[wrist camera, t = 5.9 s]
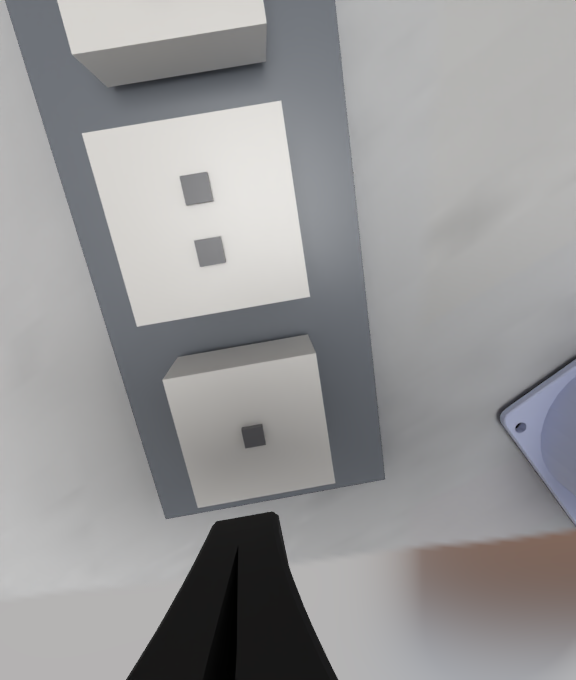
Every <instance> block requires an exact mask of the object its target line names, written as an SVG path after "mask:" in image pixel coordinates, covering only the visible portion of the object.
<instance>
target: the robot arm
mask: <svg viewBox="0 0 576 680" xmlns="http://www.w3.org/2000/svg"><path fill="white" fill-rule="evenodd" d="M500 421H501V423H502V425H503V426H504V427H505V429H506V430H507V432H508V433H509V434H510V436H511V437H512V438H513V440H514V441H515V443H516V444H517V445H518V447H519V448H520V450H521V451H522V452H523V454H524V455H525V456H526V458H527V459H528V461H529V462H530V463H531V465H532V466H533V468H534V469H535V470H536V472H537V473H538V474H539V476H540V477H541V479H542V480H543V481H544V483H545V484H546V486H547V487H548V488H549V490H550V491H551V492H552V494H553V495H554V497H555V498H556V499H557V501H558V502H559V504H560V505H561V506H562V508H563V509H564V510H565V512H566V513H567V515H568V516H569V517H570V519H571V520H572V522H573V523H574V524H575V526H576V359H575V360H574V361H572V362H571V363H569V364H568V365H567V366H565V367H564V368H562V369H561V370H560V371H558V372H557V373H555V374H554V375H553V376H551V377H550V378H548V379H547V380H545V381H544V382H543V383H541V384H540V385H538V386H537V387H536V388H534V389H533V390H531V391H530V392H529V393H527V394H526V395H524V396H523V397H521V398H520V399H519V400H517V401H516V402H514V403H513V404H512V405H510V406H509V407H507V408H506V409H505V410H504V411H503V412H502V413H501V415H500ZM518 423H521V424H520V426H519V427H518V428H515V427H516V425H517V424H518ZM126 680H338V679H337V677H336V675H335V673H334V671H333V669H332V667H331V664H330V663H329V661H328V658H327V657H326V654H325V652H324V650H323V648H322V646H321V644H320V641H319V639H318V637H317V635H316V633H315V631H314V629H313V626H312V625H311V622H310V619H309V617H308V615H307V612H306V610H305V608H304V606H303V603H302V600H301V598H300V595H299V593H298V590H297V588H296V585H295V582H294V580H293V577H292V574H291V571H290V569H289V565H288V560H287V555H286V550H285V545H284V541H283V536H282V531H281V526H280V521H279V516H278V515H277V514H275V513H274V512H267V513H262V514H256V515H250V516H245V517H239V518H233V519H228V520H222V521H217V522H216V523H215V524H214V525H213V526H212V528H211V530H210V532H209V534H208V536H207V538H206V540H205V542H204V544H203V546H202V548H201V550H200V552H199V554H198V556H197V558H196V560H195V562H194V564H193V566H192V568H191V570H190V572H189V574H188V575H187V577H186V579H185V581H184V583H183V585H182V587H181V588H180V590H179V592H178V594H177V595H176V597H175V599H174V601H173V603H172V605H171V606H170V608H169V610H168V612H167V613H166V615H165V617H164V619H163V620H162V622H161V624H160V626H159V627H158V629H157V631H156V632H155V634H154V636H153V637H152V639H151V640H150V642H149V644H148V645H147V647H146V649H145V651H144V652H143V653H142V655H141V657H140V659H139V660H138V662H137V663H136V665H135V666H134V668H133V670H132V671H131V673H130V675H129V676H128V678H127V679H126Z"/></svg>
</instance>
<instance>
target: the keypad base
mask: <svg viewBox="0 0 576 680" xmlns="http://www.w3.org/2000/svg"><path fill="white" fill-rule="evenodd" d="M5 2H6V5H7V8H8V11H9V15H10V18H11V21H12V24H13V28H14V31H15V34H16V37H17V41H18V44H19V47H20V50H21V53H22V57H23V60H24V63H25V66H26V70H27V73H28V76H29V79H30V82H31V86H32V89H33V92H34V95H35V99H36V102H37V105H38V108H39V112H40V115H41V118H42V121H43V124H44V128H45V131H46V134H47V137H48V141H49V144H50V147H51V150H52V153H53V157H54V160H55V163H56V166H57V170H58V173H59V176H60V179H61V183H62V186H63V189H64V192H65V195H66V199H67V202H68V205H69V208H70V212H71V215H72V218H73V221H74V224H75V228H76V231H77V234H78V237H79V241H80V244H81V247H82V250H83V254H84V257H85V260H86V263H87V266H88V270H89V273H90V276H91V279H92V283H93V286H94V289H95V292H96V295H97V299H98V302H99V305H100V308H101V312H102V315H103V318H104V321H105V325H106V328H107V331H108V334H109V337H110V341H111V344H112V347H113V350H114V354H115V357H116V360H117V363H118V366H119V370H120V373H121V376H122V379H123V383H124V386H125V389H126V392H127V395H128V399H129V402H130V405H131V408H132V412H133V415H134V418H135V421H136V425H137V428H138V431H139V434H140V437H141V441H142V444H143V447H144V450H145V454H146V457H147V460H148V463H149V466H150V470H151V473H152V476H153V479H154V483H155V486H156V489H157V492H158V496H159V499H160V502H161V505H162V508H163V512H164V515H165V518H166V519H169V518H175V517H180V516H186V515H191V514H197V513H202V512H208V511H213V510H219V509H225V508H230V507H236V506H241V505H247V504H252V503H258V502H263V501H269V500H274V499H280V498H285V497H291V496H296V495H302V494H307V493H313V492H318V491H324V490H329V489H335V488H340V487H346V486H351V485H357V484H362V483H368V482H373V481H379V480H385V473H384V464H383V454H382V445H381V435H380V425H379V416H378V406H377V397H376V387H375V378H374V368H373V359H372V349H371V340H370V330H369V320H368V311H367V301H366V292H365V282H364V273H363V263H362V254H361V244H360V235H359V225H358V215H357V206H356V196H355V187H354V177H353V168H352V158H351V149H350V139H349V130H348V120H347V111H346V101H345V91H344V82H343V72H342V63H341V53H340V44H339V34H338V25H337V15H336V6H335V0H263V2H264V8H265V15H266V22H267V35H266V62H260V63H254V64H248V65H242V66H236V67H229V68H223V69H217V70H211V71H205V72H199V73H193V74H186V75H180V76H174V77H168V78H162V79H156V80H150V81H143V82H137V83H131V84H125V85H119V86H113V87H107V86H106V85H104V84H103V83H102V82H101V81H100V80H99V79H98V78H97V77H96V76H95V75H94V74H93V73H91V72H90V71H89V70H88V69H87V68H86V67H85V66H84V65H83V64H82V63H81V62H79V61H78V60H77V59H76V58H75V57H74V56H73V55H72V53H71V49H70V46H69V42H68V38H67V35H66V31H65V28H64V24H63V20H62V17H61V13H60V10H59V6H58V2H57V0H5ZM275 101H281V103H282V109H283V116H284V123H285V130H286V137H287V143H288V150H289V157H290V164H291V171H292V177H293V184H294V191H295V198H296V204H297V211H298V218H299V225H300V232H301V238H302V245H303V252H304V259H305V266H306V272H307V279H308V286H309V293H310V297H306V298H300V299H294V300H289V301H283V302H277V303H271V304H266V305H260V306H254V307H248V308H242V309H237V310H231V311H225V312H219V313H214V314H208V315H202V316H196V317H190V318H185V319H179V320H173V321H167V322H161V323H156V324H150V325H144V326H138V327H137V325H136V322H135V318H134V315H133V311H132V308H131V304H130V301H129V297H128V294H127V290H126V287H125V283H124V280H123V276H122V273H121V269H120V266H119V262H118V259H117V255H116V252H115V248H114V245H113V241H112V238H111V234H110V231H109V227H108V224H107V220H106V217H105V213H104V210H103V206H102V203H101V199H100V196H99V192H98V189H97V185H96V182H95V178H94V175H93V171H92V168H91V164H90V161H89V157H88V154H87V150H86V147H85V143H84V140H83V136H82V133H87V132H93V131H99V130H105V129H111V128H117V127H123V126H129V125H135V124H141V123H147V122H153V121H160V120H166V119H172V118H178V117H184V116H190V115H196V114H202V113H208V112H214V111H220V110H226V109H232V108H239V107H245V106H251V105H257V104H263V103H269V102H275ZM307 334H308V336H309V338H310V341H311V343H312V345H313V348H314V350H315V352H316V357H317V364H318V370H319V377H320V384H321V390H322V397H323V404H324V411H325V417H326V424H327V431H328V437H329V444H330V451H331V457H332V464H333V471H334V478H335V483H334V484H328V485H323V486H317V487H312V488H306V489H301V490H295V491H290V492H284V493H279V494H273V495H268V496H262V497H256V498H251V499H245V500H240V501H234V502H229V503H223V504H218V505H212V506H207V507H201V508H198V507H197V503H196V500H195V496H194V493H193V489H192V485H191V482H190V478H189V474H188V471H187V467H186V464H185V460H184V456H183V453H182V449H181V446H180V442H179V438H178V435H177V431H176V428H175V424H174V420H173V417H172V413H171V410H170V406H169V402H168V399H167V395H166V392H165V388H164V384H163V381H162V380H163V378H164V377H165V375H166V374H167V372H168V371H169V369H170V368H171V366H172V365H173V363H174V362H175V360H176V359H177V357H181V356H187V355H192V354H198V353H204V352H210V351H215V350H221V349H227V348H232V347H238V346H244V345H250V344H255V343H261V342H267V341H273V340H278V339H284V338H290V337H295V336H301V335H307Z"/></svg>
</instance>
